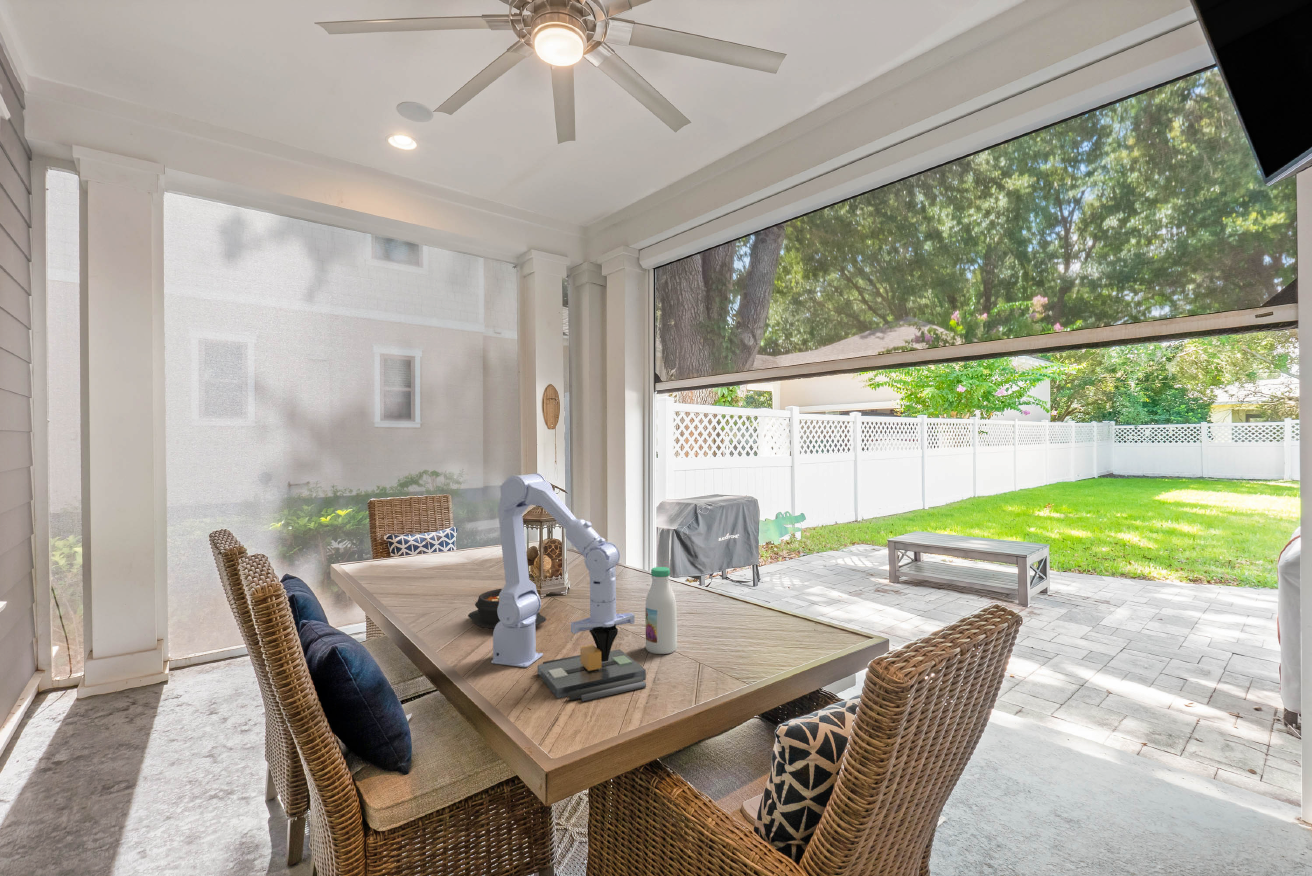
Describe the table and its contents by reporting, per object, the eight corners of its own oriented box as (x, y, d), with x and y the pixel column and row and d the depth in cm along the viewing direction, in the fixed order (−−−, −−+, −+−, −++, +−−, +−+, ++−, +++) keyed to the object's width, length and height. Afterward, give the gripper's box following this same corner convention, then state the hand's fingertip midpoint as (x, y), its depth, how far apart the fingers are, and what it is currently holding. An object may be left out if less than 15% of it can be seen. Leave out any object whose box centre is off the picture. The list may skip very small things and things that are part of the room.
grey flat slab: (557, 698, 120) (556, 687, 120) (537, 673, 133) (537, 663, 133) (645, 678, 129) (645, 668, 129) (619, 657, 142) (619, 647, 142)
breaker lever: (588, 670, 128) (588, 654, 128) (580, 662, 132) (580, 646, 132) (601, 668, 129) (601, 651, 129) (593, 660, 134) (592, 644, 134)
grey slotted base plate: (573, 704, 117) (573, 696, 117) (542, 667, 136) (542, 660, 136) (646, 688, 125) (646, 680, 125) (607, 655, 143) (607, 648, 143)
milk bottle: (675, 643, 151) (675, 564, 151) (678, 654, 143) (677, 571, 143) (645, 644, 151) (644, 565, 151) (646, 655, 143) (645, 572, 143)
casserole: (561, 623, 168) (561, 593, 168) (508, 642, 153) (508, 609, 153) (505, 608, 183) (504, 581, 183) (451, 624, 169) (451, 594, 168)
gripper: (578, 608, 125) (578, 672, 125) (640, 598, 132) (640, 659, 132) (567, 600, 132) (567, 661, 132) (627, 591, 138) (627, 649, 138)
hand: (603, 659), depth 132 cm, fingers closed
